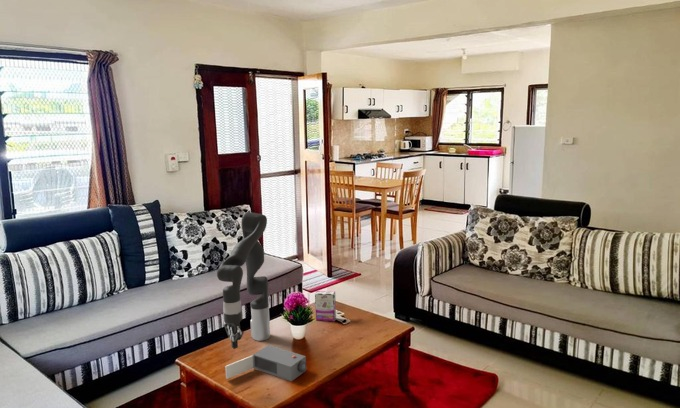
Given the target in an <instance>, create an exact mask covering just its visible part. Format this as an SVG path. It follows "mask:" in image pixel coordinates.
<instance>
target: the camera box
mask: <svg viewBox="0 0 680 408" xmlns="http://www.w3.org/2000/svg"><path fill="white" fill-rule="evenodd" d="M252 355H254V365H255V368H253V369H255V370H257V371H259V372H263V373H266V374H268V375H272V376H274V377H278V378H279V379H283V380H286V381H288V382H293V381H295V379H297V378H298V377H299V376H301V375H302V374H303V373H305V372H306V371H307V366H308V365H307V357H306V355H303V354H300V353H296V352H293V351H290V350H287V349H283V348H280V347H276V346H273V345H270V344H268V345H266V346H264V347H263V348H261V349H260V350H258V351H257V352H255V353H253V354H252Z"/></svg>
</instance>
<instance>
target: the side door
mask: <svg viewBox="0 0 680 408" xmlns="http://www.w3.org/2000/svg"><path fill="white" fill-rule="evenodd" d="M254 368H255V365H254V355H253V354H251V355H249V356H247V357H245V358H242V359H239V360H236V361H234V362H231V363H229V364H227V365H225V367H224V369H225V379H226V380H228V379H230V378H232V377H233V378H234V377H235V376H237V375H240V374H242V373H245V372H247V371H250V370H253V369H254Z"/></svg>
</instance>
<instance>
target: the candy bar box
mask: <svg viewBox="0 0 680 408" xmlns="http://www.w3.org/2000/svg"><path fill="white" fill-rule="evenodd" d="M336 299H337V298H336V291H331V290H330V291H328V290H316V291H315V293H314V302H315V303H314V304H315V321H316V322H317V321H319V322H335V321H336V319H337V306H336V305H337V304H336V302H337V301H336ZM335 318H336V319H335Z"/></svg>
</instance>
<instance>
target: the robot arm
mask: <svg viewBox="0 0 680 408" xmlns="http://www.w3.org/2000/svg"><path fill="white" fill-rule="evenodd" d="M267 224H268V217H267V216H266V215H264V214H262V213H256V212H251V211H250V212H249V211H247V212H244V214H242V218H241V232H242V237H243V238H242V239H241V240H240V241H239V242H237V243H236V244H235V246H234V247H233V248H232V251H231V253H230V254H229V256H228V257H227V258H225V260H224V261H223V262H222V263H221V264H220V265H219V267H218V268H217V271H216V277H217V278H218V281H221V282H226V283H227V282H228V283H232V284H230V285H227V286H225V287H223V289H222V299H223V300H222V301H223V303H222V306H223V307H222V310H223V311H222V313H223V321H224V323H225V324H223V327H224V330H225V332H226V334H227V337H228V338H229V339H230V341H231V344H230V345H231V348H232V349H233V350H235V349H238V347H239V345H238V344H239V343H238V342H239V341H240V340H241V339H242V337H243V336H244V330H241V324H240V322H241V321H242V320H243V314H242V310H243V309H242V302H241V285H242V280H243V275H244V273H243V272H244V271H243V270H244V269H243V268H242V266H243V265H244V264H245V266H246V267H245V268H246V291H247V293H248V295H250V296H255V295H256V296H258V295H259V296H258V297H257V298H254V299H253V300H252V301H251V302H250V312H251V314H250V316H251V319H250V320H249V321H250V322H249V323H250V336H251V337H250V338H252V339H253V340H254V341H258V342H260V341H261V342H262V341H263V342H264V341H265V340H269V339H270V338H271V327H270V305H269V280H268V277H267V276H264V275H263V276H262V275H261V276H256V274H257V273H258V271H259V270H260V269H261V267H262V266H263V264H264V262H265V250H264V248H263V245H262V244H261V242H259V239H260V238H261V237H262V235H263V234H264V232H265V231H266V229H267Z"/></svg>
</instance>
